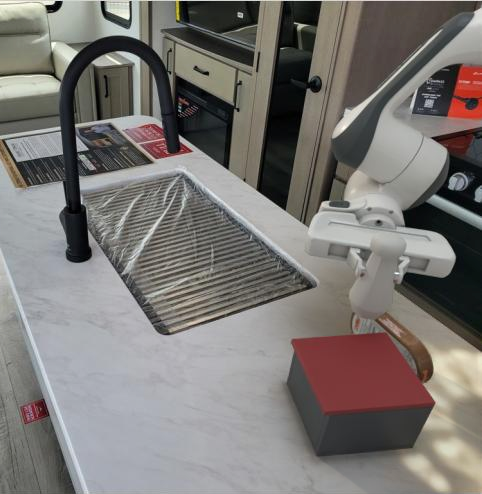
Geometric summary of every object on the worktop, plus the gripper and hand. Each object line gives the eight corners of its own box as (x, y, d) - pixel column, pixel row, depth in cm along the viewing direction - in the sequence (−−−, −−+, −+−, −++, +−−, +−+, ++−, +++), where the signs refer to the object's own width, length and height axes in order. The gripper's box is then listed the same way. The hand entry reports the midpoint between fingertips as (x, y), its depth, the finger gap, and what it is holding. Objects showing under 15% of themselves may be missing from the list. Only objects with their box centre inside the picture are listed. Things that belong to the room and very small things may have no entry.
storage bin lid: (323, 416, 59) (325, 411, 59) (290, 342, 70) (291, 338, 69) (433, 406, 60) (436, 402, 60) (384, 336, 71) (386, 331, 70)
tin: (425, 393, 73) (443, 355, 68) (409, 400, 72) (427, 361, 67) (356, 329, 84) (368, 292, 80) (342, 334, 83) (353, 297, 79)
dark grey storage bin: (316, 456, 64) (330, 415, 59) (286, 382, 74) (295, 342, 70) (412, 448, 65) (433, 407, 60) (369, 376, 76) (384, 336, 71)
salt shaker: (354, 292, 73) (376, 220, 66) (392, 308, 70) (420, 234, 63) (339, 312, 70) (361, 238, 62) (379, 330, 67) (407, 254, 59)
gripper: (438, 253, 75) (454, 309, 64) (305, 232, 81) (299, 280, 70) (452, 219, 72) (472, 272, 61) (312, 199, 77) (307, 245, 66)
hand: (378, 276), depth 65 cm, fingers closed on salt shaker, 3 cm apart
